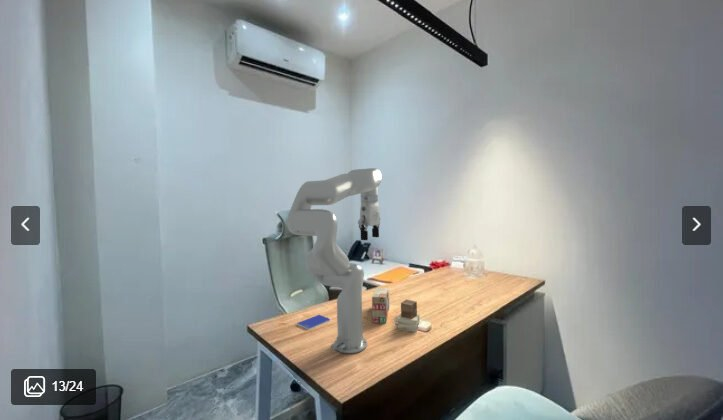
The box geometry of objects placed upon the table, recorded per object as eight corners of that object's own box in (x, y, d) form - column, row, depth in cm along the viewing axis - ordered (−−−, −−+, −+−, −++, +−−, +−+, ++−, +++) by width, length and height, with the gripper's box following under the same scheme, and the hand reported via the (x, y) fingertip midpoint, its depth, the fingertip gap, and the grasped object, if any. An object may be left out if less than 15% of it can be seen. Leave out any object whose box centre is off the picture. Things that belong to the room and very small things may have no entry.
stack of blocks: (377, 306, 155) (376, 282, 154) (389, 306, 154) (389, 282, 153) (372, 323, 133) (371, 296, 133) (386, 324, 132) (385, 296, 132)
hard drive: (308, 327, 128) (330, 318, 137) (297, 322, 133) (318, 314, 142) (308, 331, 128) (330, 322, 137) (297, 326, 133) (318, 317, 142)
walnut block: (411, 319, 125) (411, 305, 125) (401, 316, 128) (400, 302, 128) (417, 315, 129) (416, 301, 129) (406, 312, 132) (406, 299, 132)
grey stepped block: (416, 332, 124) (416, 320, 123) (397, 330, 126) (397, 318, 126) (419, 324, 131) (419, 313, 131) (401, 322, 134) (401, 311, 134)
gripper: (366, 199, 120) (367, 241, 121) (386, 198, 135) (386, 236, 135) (350, 199, 124) (351, 240, 125) (371, 199, 139) (372, 235, 139)
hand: (370, 238), depth 130 cm, fingers open, 9 cm apart
